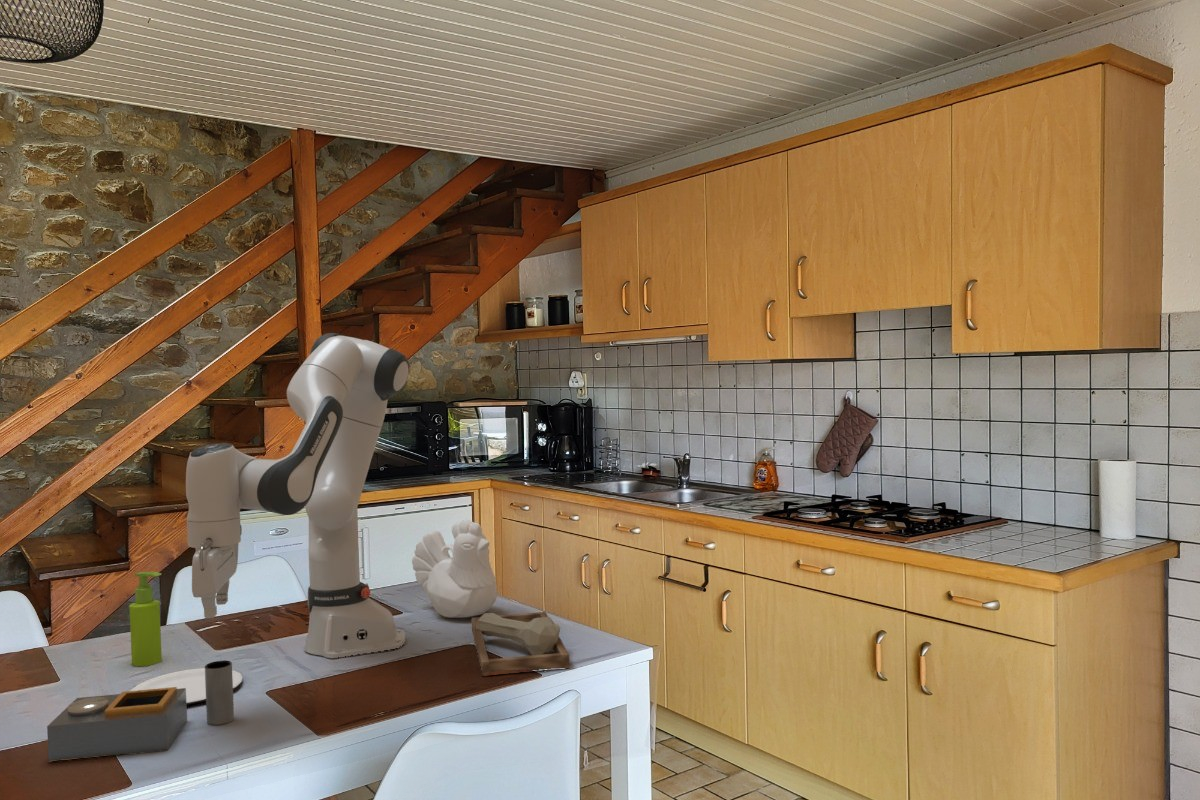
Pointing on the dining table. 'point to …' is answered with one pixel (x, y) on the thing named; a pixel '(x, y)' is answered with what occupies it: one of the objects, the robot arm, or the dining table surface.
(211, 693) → the grey cylinder
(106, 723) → the grey box with knob
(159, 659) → the soap dispenser
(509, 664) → the candle surround
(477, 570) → the decorative rooster
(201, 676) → the plate
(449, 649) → the dining table surface
